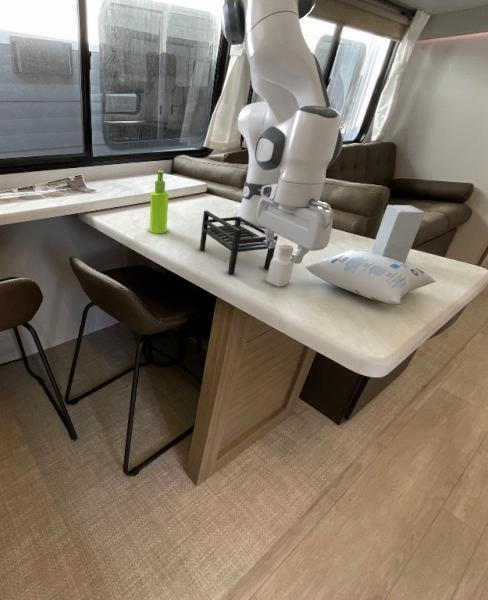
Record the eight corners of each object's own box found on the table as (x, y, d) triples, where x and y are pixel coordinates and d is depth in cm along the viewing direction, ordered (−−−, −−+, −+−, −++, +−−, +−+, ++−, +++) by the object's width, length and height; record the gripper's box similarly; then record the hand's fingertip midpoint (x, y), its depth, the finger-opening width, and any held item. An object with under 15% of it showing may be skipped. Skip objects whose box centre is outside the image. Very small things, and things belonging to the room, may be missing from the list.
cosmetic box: (402, 268, 86) (428, 213, 79) (376, 265, 88) (399, 211, 80) (391, 256, 93) (414, 204, 85) (367, 254, 95) (387, 203, 87)
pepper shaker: (289, 283, 79) (299, 247, 75) (278, 288, 78) (288, 251, 73) (275, 277, 82) (284, 242, 78) (265, 281, 81) (273, 245, 76)
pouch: (446, 264, 70) (351, 235, 84) (407, 290, 61) (308, 253, 76) (428, 295, 74) (341, 262, 88) (388, 323, 66) (299, 282, 80)
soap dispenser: (166, 227, 118) (169, 168, 107) (166, 233, 112) (169, 172, 102) (150, 226, 118) (151, 168, 108) (149, 233, 112) (151, 172, 102)
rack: (234, 245, 101) (240, 207, 95) (270, 269, 87) (280, 226, 80) (199, 249, 99) (203, 210, 93) (229, 275, 84) (237, 230, 78)
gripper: (349, 205, 61) (326, 271, 68) (280, 184, 78) (267, 239, 85) (321, 207, 60) (301, 274, 67) (257, 185, 77) (246, 241, 84)
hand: (282, 254), depth 76 cm, fingers open, 8 cm apart
